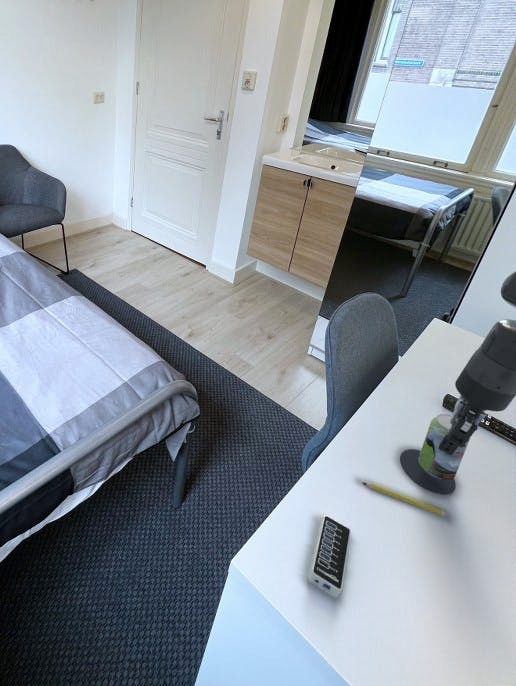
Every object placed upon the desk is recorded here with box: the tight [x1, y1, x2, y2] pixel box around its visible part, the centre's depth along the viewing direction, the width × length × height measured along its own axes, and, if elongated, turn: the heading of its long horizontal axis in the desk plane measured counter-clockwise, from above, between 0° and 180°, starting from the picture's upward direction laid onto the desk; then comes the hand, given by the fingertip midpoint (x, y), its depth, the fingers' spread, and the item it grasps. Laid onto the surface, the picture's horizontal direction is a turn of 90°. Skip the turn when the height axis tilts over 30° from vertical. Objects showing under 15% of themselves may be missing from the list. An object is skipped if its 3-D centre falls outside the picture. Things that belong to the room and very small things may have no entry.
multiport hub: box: [307, 514, 352, 599], centre depth 69 cm, size 4×11×2 cm, turn 147°
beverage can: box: [418, 413, 471, 480], centre depth 81 cm, size 6×7×12 cm
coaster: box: [399, 448, 457, 495], centre depth 85 cm, size 10×10×1 cm
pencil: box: [362, 482, 447, 518], centre depth 79 cm, size 1×14×1 cm, turn 67°
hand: (448, 440), depth 80 cm, fingers closed on beverage can, 6 cm apart
